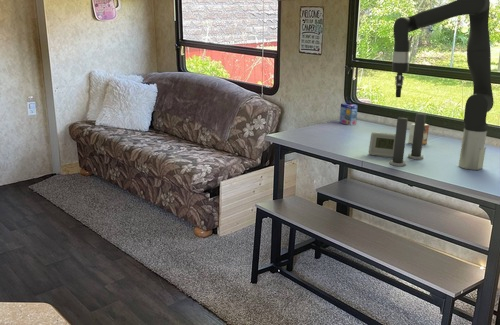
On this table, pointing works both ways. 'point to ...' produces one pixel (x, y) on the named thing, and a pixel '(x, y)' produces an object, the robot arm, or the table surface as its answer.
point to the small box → (423, 134)
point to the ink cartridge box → (348, 113)
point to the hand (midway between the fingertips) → (398, 96)
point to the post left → (399, 142)
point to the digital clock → (382, 144)
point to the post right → (418, 137)
